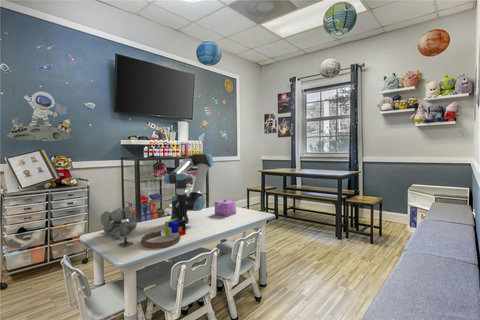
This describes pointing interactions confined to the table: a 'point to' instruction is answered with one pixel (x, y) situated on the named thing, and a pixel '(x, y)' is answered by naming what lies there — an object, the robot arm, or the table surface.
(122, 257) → the table surface
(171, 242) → the rim
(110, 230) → the plush elephant
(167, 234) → the puzzle toy
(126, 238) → the dial gauge stand
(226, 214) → the purple lidded box
